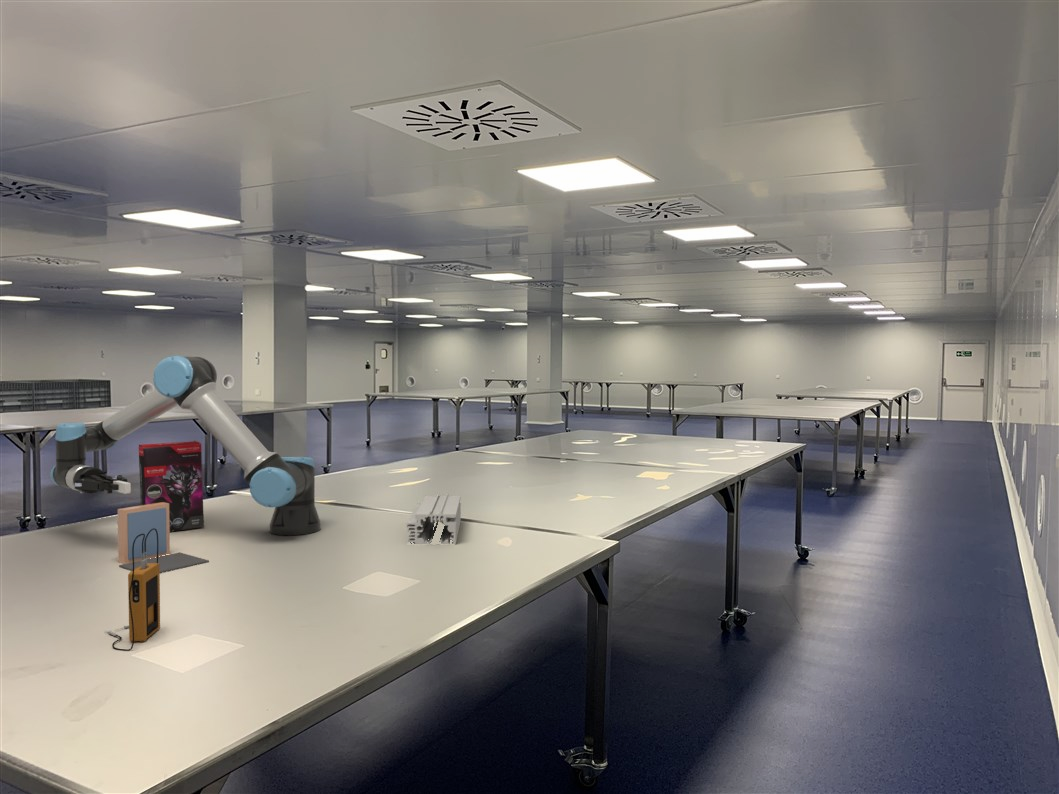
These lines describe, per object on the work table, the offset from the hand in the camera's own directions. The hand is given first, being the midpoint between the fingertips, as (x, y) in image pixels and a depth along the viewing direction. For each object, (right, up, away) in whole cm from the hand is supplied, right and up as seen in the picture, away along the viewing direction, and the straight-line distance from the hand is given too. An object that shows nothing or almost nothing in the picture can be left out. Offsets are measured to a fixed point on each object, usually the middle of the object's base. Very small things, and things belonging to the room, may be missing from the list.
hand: (127, 488), depth 197 cm
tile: (+6, -18, -3) cm, 20 cm away
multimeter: (+32, -21, -59) cm, 70 cm away
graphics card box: (-2, -17, +29) cm, 34 cm away
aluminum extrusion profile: (+79, -18, +29) cm, 86 cm away
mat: (+15, -18, -9) cm, 25 cm away
